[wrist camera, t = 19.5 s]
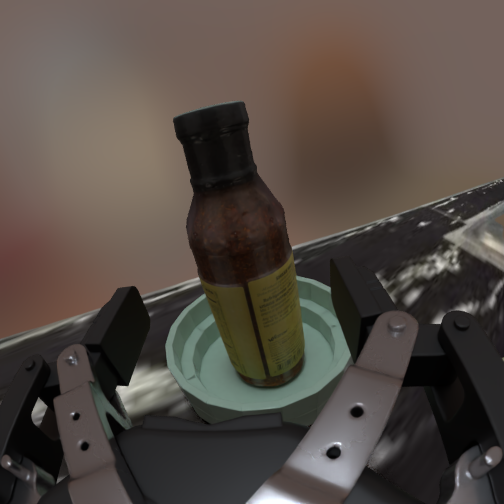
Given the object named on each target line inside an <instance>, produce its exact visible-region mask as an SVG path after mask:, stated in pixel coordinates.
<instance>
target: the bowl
mask: <svg viewBox="0 0 504 504" xmlns="http://www.w3.org/2000/svg"><path fill="white" fill-rule="evenodd" d="M296 279H297V286H298V293H299V300H300V307H301V316H302V324H303V332H304V339H305V350H304V355H305V356H304V362H303V366H302V368H301V370H300V371H299V373H298V374H297V375H296V376H295V377H293V378H292V379H290V380H289V381H288V382H285V383H284V384H281V385H278V386H275V387H268V386H267V387H263V386H255V385H253V384H249V383H247V382H245V381H244V380H243V379H242V378H241V376H240V375H239V374H238V372H237V370H236V369H235V368H234V367H233V365H232V364H231V362H230V359H229V356H228V354H227V351H226V349H225V346H224V343H223V341H222V338H221V335H220V333H219V330H218V327H217V325H216V322H215V319H214V316H213V314H212V311H211V308H210V306H209V303H208V300H207V298H206V295H205V294H204V295H202V296H200V297H199V298H198V299H197V300H195V301H194V302H193V303H192V304H190V305H189V306H188V307H187V308H185V309H184V310H183V311H182V313H181V314H180V316H179V317H178V318H177V320H176V321H175V322H174V324H173V325H172V327H171V329H170V332H169V335H168V339H167V342H166V345H165V348H166V356H167V364H168V368H169V370H170V372H171V374H172V375H173V377H174V379H175V380H176V382H177V384H178V385H179V387H180V389H181V390H182V392H183V394H184V395H185V397H186V399H187V400H188V401H189V403H190V404H191V406H192V407H193V409H194V410H195V411H196V413H197V414H198V415H199V416H200V417H201V418H202V419H204V420H205V421H207V422H209V423H210V424H214V423H218V422H222V421H226V420H230V419H234V418H237V417H241V416H244V415H256V414H267V413H276V412H281V414H282V419H283V421H287V422H293V423H299V424H302V425H305V426H308V425H311V424H313V423H314V422H315V420H316V419H317V417H318V416H319V414H320V413H321V411H322V409H323V408H324V406H325V405H326V403H327V401H328V400H329V398H330V397H331V395H332V393H333V392H334V390H335V388H336V387H337V385H338V383H339V381H340V380H341V378H342V376H343V374H344V373H345V371H346V369H347V368H348V366H349V365H350V364H352V365H354V363H353V360H352V357H351V354H350V351H349V348H348V346H347V343H346V340H345V337H344V335H343V332H342V329H341V326H340V324H339V321H338V318H337V316H336V313H335V310H334V308H333V304H332V300H331V288H330V287H328V286H326V285H324V284H322V283H320V282H318V281H316V280H313V279H308V278H303V277H299V276H296Z"/></svg>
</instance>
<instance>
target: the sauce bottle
mask: <svg viewBox="0 0 504 504" xmlns="http://www.w3.org/2000/svg"><path fill="white" fill-rule="evenodd" d="M173 122H174V127H175V132H176V137H177V139H178V140H179V141H180V142H181V144H182V145H183V148H184V153H185V157H186V161H187V165H188V169H189V171H190V175H191V179H190V183H191V185H192V188H193V192H194V196H193V199H192V203H191V206H190V210H189V213H188V217H187V225H186V228H187V234H188V239H189V245H190V248H191V250H192V252H193V255H194V258H195V261H196V264H197V267H198V275H199V278H200V281H201V284H202V287H203V290H204V292H205V295H206V298H207V300H208V303H209V306H210V308H211V311H212V314H213V316H214V319H215V322H216V325H217V327H218V330H219V333H220V335H221V338H222V341H223V343H224V346H225V349H226V351H227V354H228V356H229V359H230V362H231V364H232V365H233V367H234V368H235V369H236V370H237V372H238V374H239V375H240V376H241V378H242V379H243V380H244V381H245V382H247V383H249V384H253V385H255V386H263V387H267V386H268V387H275V386H278V385H281V384H284V383H285V382H288V381H289V380H290V379H292V378H293V377H295V376H296V375H297V374H298V373H299V371H300V370H301V368H302V366H303V362H304V356H305V355H304V350H305V339H304V332H303V324H302V316H301V307H300V300H299V293H298V286H297V279H296V272H295V266H294V259H293V253H292V248H291V245H290V243H289V238H288V234H287V229H286V221H285V216H284V213H285V212H284V209H283V208H282V205H281V204H280V203H279V202H278V200H277V199H276V198H275V197H274V196H273V194H272V193H271V191H270V190H269V188H268V187H267V186H266V184H265V183H264V182H263V180H262V179H261V178H260V176H259V175H258V173H257V166H256V165H255V163H254V161H253V156H252V151H251V147H250V141H249V134H248V123H249V118H248V114H247V111H246V108H245V103H244V102H243V101H233V102H225V103H221V104H216V105H211V106H206V107H202V108H199V109H196V110H192V111H189V112H186V113H183V114H180V115H178V116H176V117H174V119H173Z"/></svg>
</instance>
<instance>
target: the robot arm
mask: <svg viewBox="0 0 504 504" xmlns="http://www.w3.org/2000/svg"><path fill="white" fill-rule="evenodd" d="M330 284H331V300H332V304H333V308H334V310H335V313H336V316H337V318H338V321H339V324H340V326H341V329H342V332H343V335H344V337H345V340H346V343H347V346H348V348H349V351H350V354H351V357H352V360H353V363H354V365H352V364H350V365H349V366H348V368H347V369H346V371H345V373H344V374H343V376H342V378H341V380H340V381H339V383H338V385H337V387H336V388H335V390H334V392H333V393H332V395H331V397H330V398H329V400H328V401H327V403H326V405H325V406H324V408H323V409H322V411H321V413H320V414H319V416H318V417H317V419H316V420H315V422H314V423H313V425H312V426H311V428H310V427H308V426H305V425H302V424H299V423H293V422H287V421H283V419H282V414H281V412H276V413H267V414H256V415H244V416H241V417H237V418H234V419H230V420H226V421H222V422H218V423H214V424H209V425H206V424H201V423H197V422H193V421H189V420H185V419H181V418H177V417H168V416H150V415H145V417H144V421H143V425H138V426H135V427H133V425H132V423H131V421H130V419H129V416H128V414H127V412H126V410H125V408H124V405H123V403H122V401H121V398H120V396H119V394H118V392H117V391H116V390H115V389H116V387H117V386H129V383H130V380H131V377H132V374H133V371H134V369H135V366H136V363H137V360H138V358H139V355H140V352H141V350H142V347H143V344H144V342H145V339H146V336H147V334H148V331H149V329H150V317H149V314H148V312H147V310H146V307H145V305H144V303H143V301H142V298H141V296H140V294H139V291H138V290H137V288H136V287H135V286H131V287H122V288H118V289H117V290H116V292H115V293H114V295H113V296H112V298H111V300H110V301H109V302H108V303H106V304H105V305H104V306H103V307H102V308H101V310H100V311H99V313H98V315H97V317H96V318H95V320H94V321H93V324H91V326H90V328H89V329H88V331H87V333H86V335H85V336H84V338H83V340H82V341H81V343H80V345H79V344H76V345H72V346H70V347H68V348H66V349H65V350H64V351H63V352H62V353H61V354H60V355H59V357H58V359H57V361H56V362H52V363H48V364H47V363H46V362H45V360H44V359H43V358H42V356H41V355H38V354H36V355H32V356H30V357H29V358H27V359H26V360H25V361H24V362H23V363H22V365H21V367H20V368H19V370H18V372H17V374H16V375H15V377H14V379H13V381H12V383H11V385H10V387H9V389H8V391H7V393H6V394H5V396H4V399H3V401H2V403H1V405H0V504H425V503H424V502H422V501H420V500H418V499H417V498H415V497H413V496H412V495H410V494H408V493H407V492H405V491H403V490H402V489H400V488H399V487H397V486H395V485H394V484H392V483H391V482H389V481H388V480H386V479H385V478H383V477H382V476H380V475H379V474H377V473H376V472H374V471H373V470H371V469H370V468H368V467H367V466H366V464H367V462H368V460H369V458H370V456H371V455H372V453H373V451H374V449H375V447H376V445H377V443H378V440H379V438H380V436H381V434H382V432H383V430H384V428H385V425H386V423H387V421H388V418H389V416H390V414H391V411H392V409H393V406H394V404H395V401H396V399H397V396H398V394H399V391H400V388H401V387H409V386H423V387H424V390H425V392H426V395H427V398H428V400H429V403H430V406H431V408H432V411H433V414H434V417H435V420H436V422H437V425H438V428H439V431H440V434H441V438H442V441H443V444H444V447H445V450H446V454H447V457H448V461H449V464H450V465H449V466H448V467H447V468H446V470H445V471H444V472H443V474H442V476H441V479H440V484H439V488H440V494H439V498H438V501H437V503H436V504H504V360H503V359H502V357H501V356H500V354H499V352H498V351H497V349H496V348H495V346H494V345H493V343H492V341H491V340H490V338H489V337H488V335H487V334H486V333H485V331H484V330H483V328H482V327H481V325H480V324H479V322H478V321H477V320H476V319H475V317H473V316H472V315H471V314H469V313H467V312H464V311H451V312H449V313H447V314H446V315H445V316H444V317H443V319H442V322H441V324H418V323H417V321H416V319H415V318H414V317H413V316H412V315H410V314H408V313H406V312H402V311H399V310H398V309H397V307H396V306H395V304H394V302H393V301H392V299H391V298H390V296H389V295H388V293H387V292H386V290H385V289H384V288H383V286H382V284H381V283H380V282H379V280H378V278H377V277H376V275H375V274H374V272H373V271H371V270H369V269H368V268H366V267H365V266H361V267H356V265H355V263H354V262H353V260H352V259H351V257H350V256H344V257H338V258H332V259H331V260H330ZM38 397H39V398H40V399H41V400H42V401H43V402H44V403H45V404H46V405H47V406H48V407H47V410H46V412H45V415H44V417H43V420H42V422H41V425H40V428H38V427H37V426H36V425H35V424H34V423H33V421H32V418H31V414H32V411H33V408H34V406H35V404H36V401H37V399H38ZM63 455H64V456H65V460H66V463H67V467H68V470H69V475H68V476H67V477H65V478H64V479H63V480H61V481H60V482H59V483H58V484H56V482H57V478H58V474H59V470H60V466H61V463H62V459H63Z"/></svg>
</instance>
